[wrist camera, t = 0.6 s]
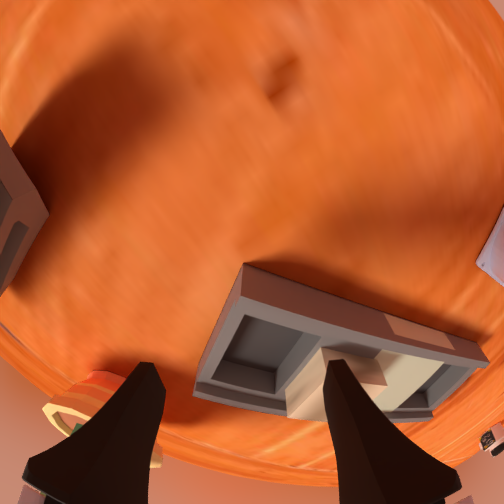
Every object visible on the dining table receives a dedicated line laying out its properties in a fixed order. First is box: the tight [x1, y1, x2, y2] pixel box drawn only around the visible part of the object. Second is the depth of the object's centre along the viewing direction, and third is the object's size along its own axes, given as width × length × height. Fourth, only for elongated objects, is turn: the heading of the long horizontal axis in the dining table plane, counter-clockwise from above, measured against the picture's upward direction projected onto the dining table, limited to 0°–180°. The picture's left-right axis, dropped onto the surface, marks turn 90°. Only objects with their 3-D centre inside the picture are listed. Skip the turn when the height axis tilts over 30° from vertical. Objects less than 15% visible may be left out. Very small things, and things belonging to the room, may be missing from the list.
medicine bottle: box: [479, 422, 504, 457], centre depth 44 cm, size 7×7×12 cm
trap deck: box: [192, 263, 490, 423], centre depth 23 cm, size 32×12×4 cm, turn 68°
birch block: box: [285, 347, 388, 422], centre depth 20 cm, size 6×6×3 cm
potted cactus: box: [35, 370, 163, 497], centre depth 17 cm, size 15×15×25 cm
